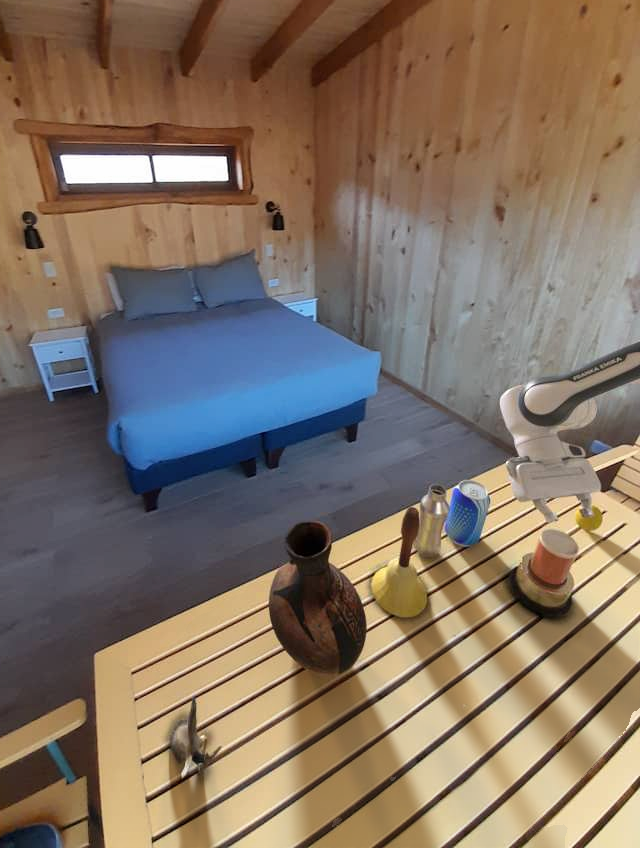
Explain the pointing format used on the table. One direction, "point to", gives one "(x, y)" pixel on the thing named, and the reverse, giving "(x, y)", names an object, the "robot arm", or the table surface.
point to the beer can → (467, 513)
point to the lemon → (589, 519)
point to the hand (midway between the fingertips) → (571, 519)
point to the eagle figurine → (190, 743)
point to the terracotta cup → (554, 556)
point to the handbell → (401, 576)
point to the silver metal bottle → (431, 521)
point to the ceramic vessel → (316, 604)
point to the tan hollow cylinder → (540, 591)
